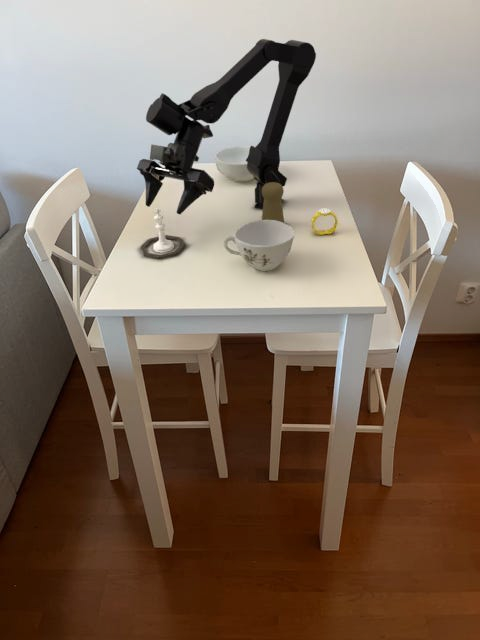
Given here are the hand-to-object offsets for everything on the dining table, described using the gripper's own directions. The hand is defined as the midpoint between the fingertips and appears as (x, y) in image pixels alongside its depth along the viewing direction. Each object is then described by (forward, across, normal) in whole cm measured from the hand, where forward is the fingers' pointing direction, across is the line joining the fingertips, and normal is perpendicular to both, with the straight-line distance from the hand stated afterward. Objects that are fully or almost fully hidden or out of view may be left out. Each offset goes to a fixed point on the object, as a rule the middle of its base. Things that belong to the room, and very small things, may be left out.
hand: (162, 209), depth 107 cm
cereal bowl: (-25, -7, +38) cm, 46 cm away
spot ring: (+8, 0, +5) cm, 9 cm away
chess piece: (+8, 0, +5) cm, 9 cm away
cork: (-7, +18, +20) cm, 28 cm away
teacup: (+5, +24, +8) cm, 26 cm away
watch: (-9, +30, +22) cm, 39 cm away
